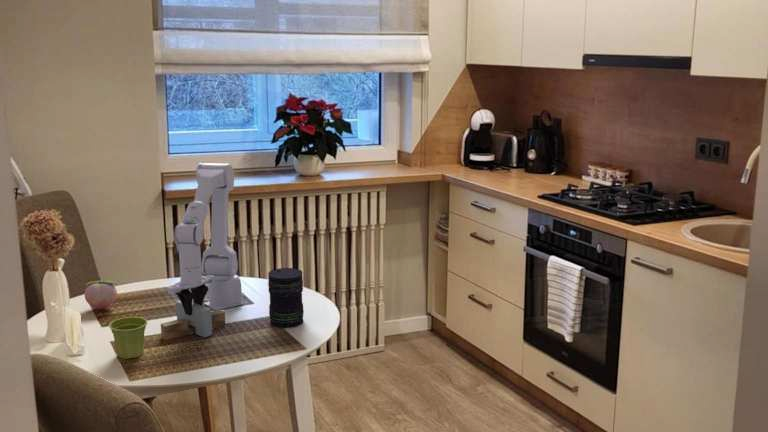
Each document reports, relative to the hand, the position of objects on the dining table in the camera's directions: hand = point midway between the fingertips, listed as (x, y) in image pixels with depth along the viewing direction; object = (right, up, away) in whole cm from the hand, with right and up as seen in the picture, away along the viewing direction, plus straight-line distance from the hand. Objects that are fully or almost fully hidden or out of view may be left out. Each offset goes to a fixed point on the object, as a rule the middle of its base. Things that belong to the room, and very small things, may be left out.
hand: (193, 313), depth 214 cm
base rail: (0, -5, +1) cm, 5 cm away
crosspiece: (0, -5, +1) cm, 5 cm away
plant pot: (-12, -9, -15) cm, 21 cm away
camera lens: (+25, -4, +8) cm, 27 cm away
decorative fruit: (-32, -1, +19) cm, 37 cm away
